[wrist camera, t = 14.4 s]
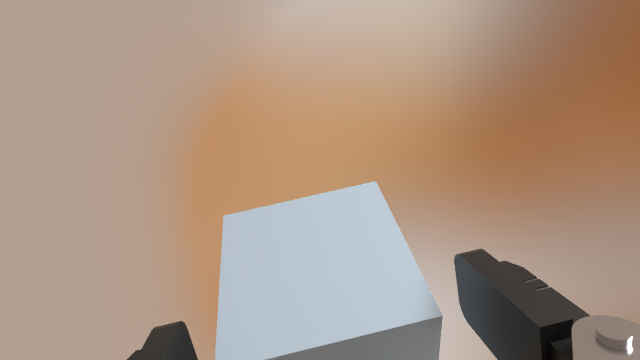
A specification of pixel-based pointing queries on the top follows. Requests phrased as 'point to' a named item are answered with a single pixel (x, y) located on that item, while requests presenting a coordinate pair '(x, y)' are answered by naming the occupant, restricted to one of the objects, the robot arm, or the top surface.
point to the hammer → (323, 283)
